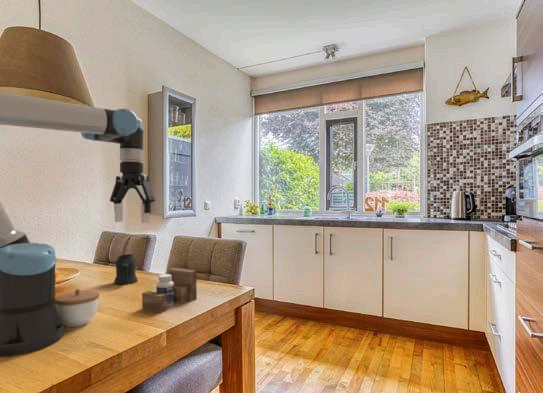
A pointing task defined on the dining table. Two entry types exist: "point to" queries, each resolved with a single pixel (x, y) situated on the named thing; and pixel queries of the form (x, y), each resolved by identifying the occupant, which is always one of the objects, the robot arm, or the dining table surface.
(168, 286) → the pill bottle
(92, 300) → the lidded jar
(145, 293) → the cluster of brown boxes
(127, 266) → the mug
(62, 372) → the dining table surface
